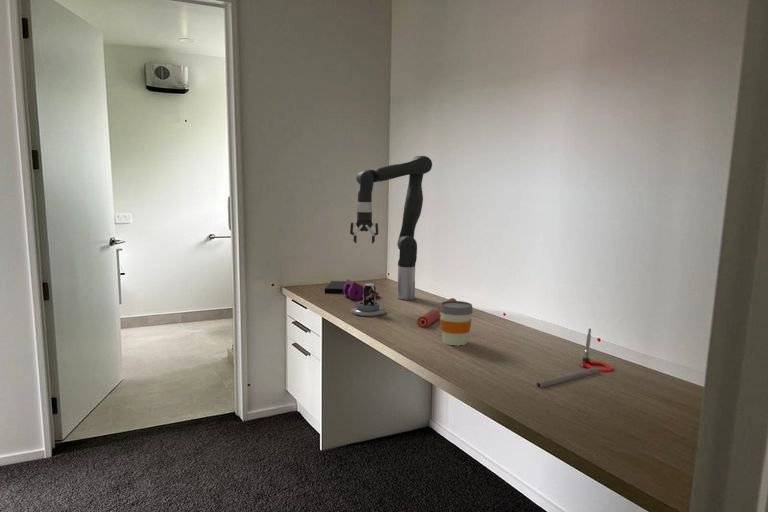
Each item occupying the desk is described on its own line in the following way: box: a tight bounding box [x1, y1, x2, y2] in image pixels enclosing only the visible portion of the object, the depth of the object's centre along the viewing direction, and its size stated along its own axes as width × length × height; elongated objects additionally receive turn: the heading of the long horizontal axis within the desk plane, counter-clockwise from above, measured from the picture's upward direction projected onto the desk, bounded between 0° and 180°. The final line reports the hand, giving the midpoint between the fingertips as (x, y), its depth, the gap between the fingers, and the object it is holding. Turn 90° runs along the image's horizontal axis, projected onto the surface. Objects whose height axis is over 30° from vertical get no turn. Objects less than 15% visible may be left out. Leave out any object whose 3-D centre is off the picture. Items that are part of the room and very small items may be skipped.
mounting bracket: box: [343, 279, 380, 300], centre depth 277 cm, size 9×8×18 cm
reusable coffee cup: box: [439, 300, 474, 347], centre depth 198 cm, size 13×13×15 cm
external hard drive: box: [324, 280, 346, 294], centre depth 297 cm, size 14×23×3 cm, turn 177°
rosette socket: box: [350, 300, 386, 317], centre depth 243 cm, size 16×16×4 cm
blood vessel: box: [417, 297, 458, 328], centre depth 239 cm, size 42×5×5 cm, turn 155°
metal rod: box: [535, 366, 600, 389], centre depth 162 cm, size 2×27×2 cm, turn 121°
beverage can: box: [362, 282, 377, 305], centre depth 243 cm, size 6×6×12 cm
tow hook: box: [579, 328, 613, 373], centre depth 173 cm, size 8×13×9 cm
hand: (364, 243), depth 264 cm, fingers open, 8 cm apart
